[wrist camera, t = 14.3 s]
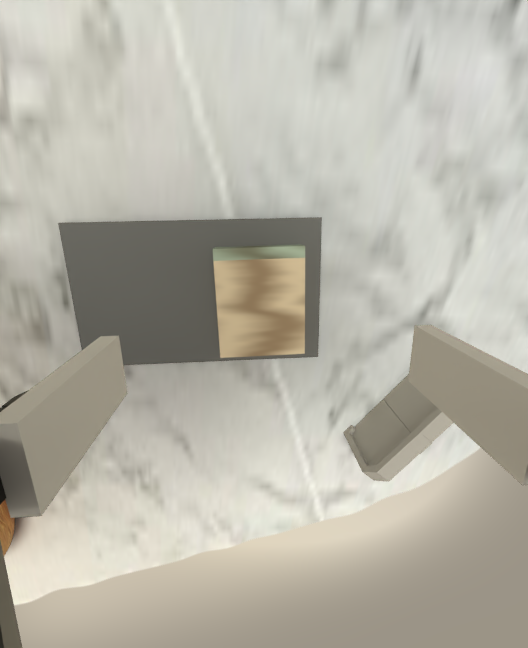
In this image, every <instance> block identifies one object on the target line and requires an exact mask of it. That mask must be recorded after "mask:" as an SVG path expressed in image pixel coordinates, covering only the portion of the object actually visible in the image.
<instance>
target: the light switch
mask: <svg viewBox="0 0 528 648" xmlns="http://www.w3.org/2000/svg"><path fill="white" fill-rule="evenodd" d="M408 378H409V374H408V375H407V376H406V377H405V378H404V379H403V380H402V381H401V382H400V383H399V384H398V385H397V386H396V387H395V388H394V389H393V390H392V391H391V392H390V393H389V394H388V395H387V396H386V397H385V398H384V400H382V401H381V402H380V403H379V404H378V405H377V406H376V407H375V408H374V409H372V410H371V411H370V412H369V413H368V414H367V415H366V416H365V417H364V418H363V419H362V420H361V421H360V422H359V423H358V424H357V425H356V426H355V427H353V426H352V425H351V426H350V427H348V428H347V429H346V430H345V431H344V432H343V433H344V435H345V437H346V439H347V441H348V443H349V445H350V447H351V449H352V451H353V453H354V455H355V457H356V459H357V462H358V464H359V466H360V468H361V470H362V472H363V473H365V474H366V475H367V476H369V477H370V478H371V479H373V480H376V481H390V480H391V479H392V478H393V477H394V476H395V475H397V474H398V473H399V472H400V471H401V470H402V469H403V468H404V467H405V466H406V465H408V464H409V463H410V462H411V461H412V460H413V459H414V458H415V457H416V456H417V455H419V454H421V453H422V452H423V451H424V450H425V449H426V448H427V447H428V446H429V445H431V444H432V442H433V441H434V440H435V439H436V438H437V437H438V436H439V435H440V434H442V433H443V432H444V431H445V430H446V429H447V428H448V427H449V426H450V425H451V424H453V423H454V422H453V421H452V420H450V419H449V418H448V417H447V416H446V415H445V414H444V413H443V412H442V411H441V410H439V409H438V408H437V407H436V406H435V405H434V404H433V403H432V402H431V401H430V400H429V399H427V398H426V397H425V396H424V395H423V394H422V393H421V392H420V391H419V390H418V389H417V388H415V387H414V386H413V385H412V384H411V383H410V382H409V381H408Z"/></svg>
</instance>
